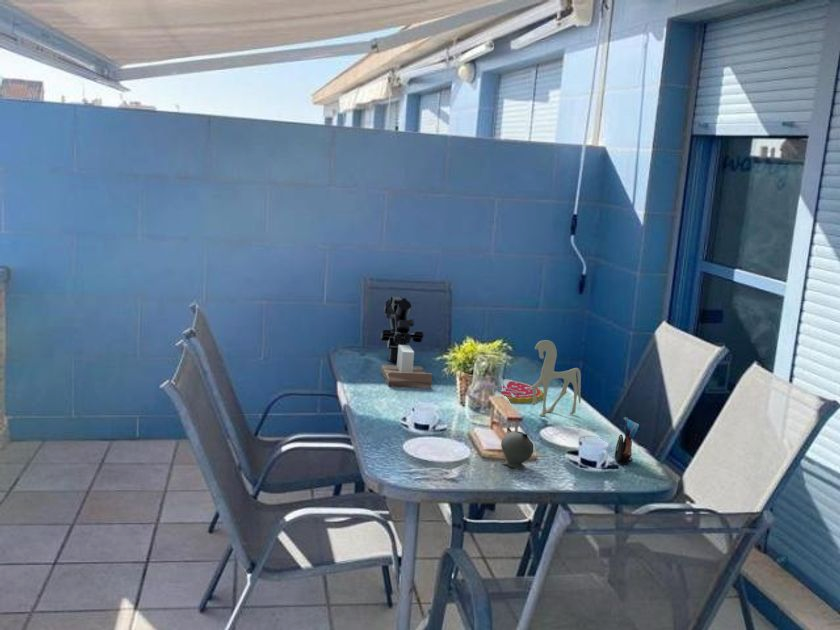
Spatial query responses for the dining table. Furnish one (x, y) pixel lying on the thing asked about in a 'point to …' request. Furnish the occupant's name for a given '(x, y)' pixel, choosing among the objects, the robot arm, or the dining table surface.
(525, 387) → the decorative sign
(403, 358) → the light gray block
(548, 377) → the sculpture
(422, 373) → the trap deck
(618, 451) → the figurine
